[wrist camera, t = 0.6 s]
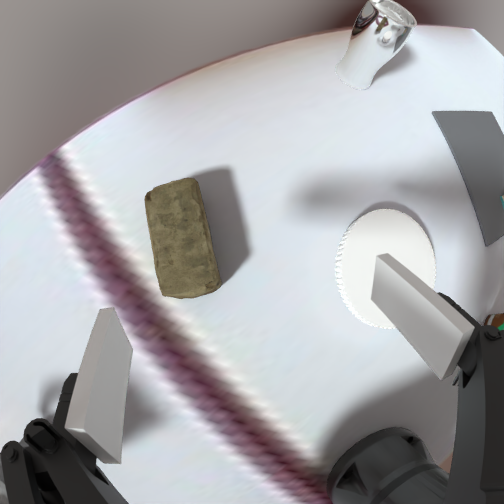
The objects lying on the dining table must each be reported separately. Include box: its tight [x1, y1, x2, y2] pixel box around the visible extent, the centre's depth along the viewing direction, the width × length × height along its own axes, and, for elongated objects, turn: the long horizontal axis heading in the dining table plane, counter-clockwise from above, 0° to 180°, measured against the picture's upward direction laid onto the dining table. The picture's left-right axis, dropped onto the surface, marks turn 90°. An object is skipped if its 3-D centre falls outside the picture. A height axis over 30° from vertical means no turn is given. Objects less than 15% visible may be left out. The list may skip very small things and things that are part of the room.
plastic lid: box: [335, 208, 436, 329], centre depth 31 cm, size 14×14×2 cm
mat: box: [432, 111, 504, 246], centre depth 37 cm, size 24×24×1 cm
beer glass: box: [335, 0, 417, 90], centre depth 29 cm, size 7×7×15 cm
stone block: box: [145, 178, 222, 299], centre depth 28 cm, size 6×12×5 cm, turn 14°
